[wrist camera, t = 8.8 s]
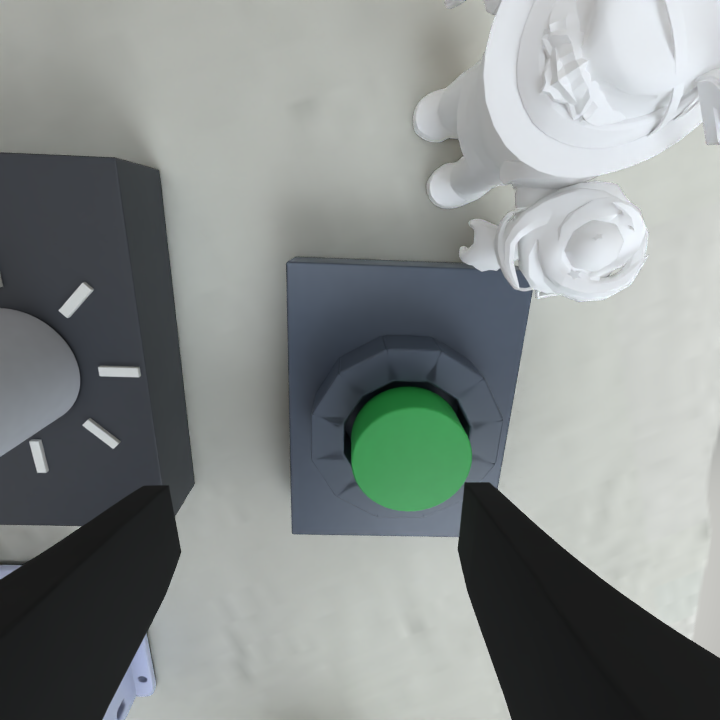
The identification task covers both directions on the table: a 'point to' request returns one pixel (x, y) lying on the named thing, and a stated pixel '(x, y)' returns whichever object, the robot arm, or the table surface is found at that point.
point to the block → (394, 376)
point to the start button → (409, 449)
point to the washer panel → (94, 335)
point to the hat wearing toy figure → (572, 131)
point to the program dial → (32, 377)
